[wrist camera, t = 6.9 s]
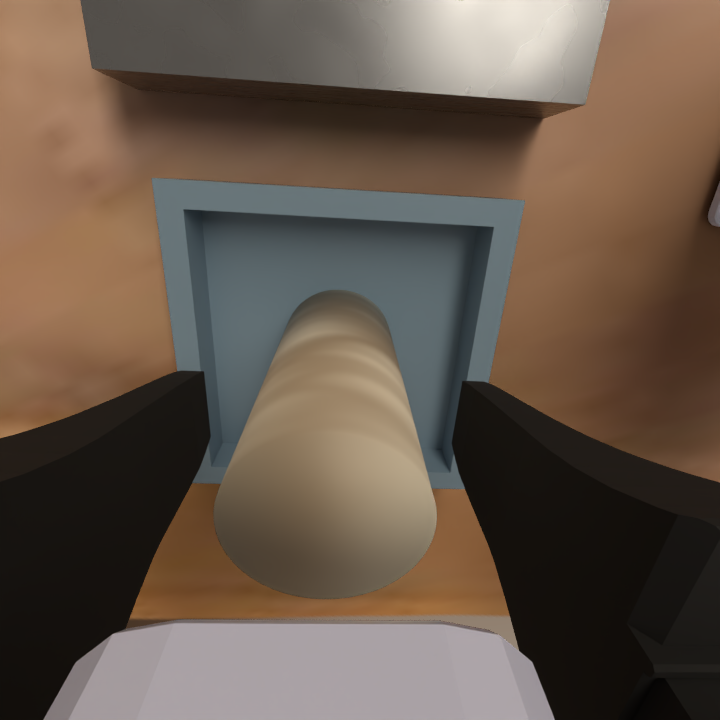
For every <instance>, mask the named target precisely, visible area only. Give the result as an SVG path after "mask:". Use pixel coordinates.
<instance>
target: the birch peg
mask: <svg viewBox="0 0 720 720" xmlns="http://www.w3.org/2000/svg"><path fill="white" fill-rule="evenodd" d="M213 512H214V525H215V530H216V534H217V537H218V539H219V542H220V544H221V546H222V547H223V549H224V551H225V553H226V554H227V555H228V557H229V558H230V559H231V560H232V562H233V563H234V564H235V565H236V566H237V567H239V568H240V569H241V570H242V571H243V572H244V573H246V574H247V575H248V576H250V577H251V578H253V579H254V580H256V581H258V582H259V583H261V584H263V585H265V586H267V587H270V588H272V589H274V590H277V591H280V592H283V593H286V594H290V595H294V596H298V597H305V598H313V599H339V598H348V597H353V596H358V595H363V594H366V593H369V592H373V591H376V590H378V589H380V588H383V587H385V586H387V585H389V584H391V583H393V582H394V581H396V580H398V579H399V578H401V577H402V576H404V575H405V574H406V573H408V572H409V571H410V570H411V569H412V568H413V567H414V566H415V565H416V564H417V563H418V562H419V561H420V560H421V558H422V557H423V556H424V554H425V553H426V551H427V550H428V548H429V546H430V544H431V542H432V539H433V537H434V533H435V529H436V522H437V511H436V504H435V500H434V496H433V492H432V488H431V485H430V481H429V477H428V473H427V470H426V466H425V462H424V458H423V454H422V451H421V447H420V443H419V439H418V435H417V432H416V428H415V424H414V420H413V416H412V413H411V409H410V405H409V401H408V398H407V394H406V390H405V386H404V382H403V379H402V375H401V371H400V367H399V363H398V360H397V356H396V352H395V348H394V345H393V341H392V337H391V333H390V329H389V326H388V323H387V320H386V318H385V316H384V315H383V313H382V312H381V310H380V309H379V308H378V307H377V306H376V305H375V304H374V303H373V302H372V301H371V300H369V299H368V298H366V297H364V296H362V295H360V294H358V293H355V292H352V291H348V290H328V291H323V292H320V293H317V294H315V295H312V296H311V297H309V298H307V299H306V300H305V301H303V302H302V303H301V304H300V305H299V306H298V307H297V308H296V310H295V311H294V312H293V314H292V316H291V318H290V319H289V322H288V324H287V327H286V329H285V331H284V334H283V336H282V339H281V341H280V343H279V346H278V348H277V351H276V353H275V355H274V358H273V360H272V363H271V365H270V367H269V370H268V372H267V375H266V377H265V379H264V382H263V384H262V387H261V389H260V391H259V394H258V396H257V399H256V401H255V403H254V406H253V408H252V411H251V413H250V415H249V418H248V420H247V423H246V425H245V427H244V430H243V432H242V435H241V437H240V439H239V442H238V444H237V447H236V449H235V451H234V454H233V456H232V459H231V461H230V463H229V466H228V468H227V471H226V473H225V475H224V478H223V480H222V483H221V485H220V487H219V490H218V493H217V496H216V499H215V504H214V511H213Z"/></svg>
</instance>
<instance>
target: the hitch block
mask: <svg viewBox="0 0 720 720" xmlns="http://www.w3.org/2000/svg"><path fill="white" fill-rule="evenodd" d="M609 2H610V0H81V6H82V12H83V18H84V24H85V30H86V35H87V41H88V47H89V53H90V59H91V65H92V69H95V70H97V71H99V72H101V73H103V74H106V75H108V76H110V77H112V78H114V79H116V80H119V81H121V82H123V83H125V84H127V85H130V86H132V87H134V88H136V89H141V90H155V91H169V92H183V93H197V94H211V95H225V96H239V97H253V98H267V99H281V100H295V101H309V102H323V103H337V104H351V105H365V106H379V107H393V108H407V109H421V110H435V111H449V112H463V113H477V114H491V115H505V116H519V117H533V118H547V117H550V116H553V115H556V114H559V113H562V112H565V111H568V110H571V109H574V108H577V107H580V106H583V105H585V104H586V100H587V95H588V91H589V87H590V83H591V78H592V74H593V70H594V66H595V61H596V57H597V53H598V49H599V45H600V40H601V36H602V32H603V28H604V23H605V19H606V15H607V11H608V6H609Z"/></svg>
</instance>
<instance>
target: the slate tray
mask: <svg viewBox="0 0 720 720" xmlns="http://www.w3.org/2000/svg"><path fill="white" fill-rule="evenodd" d="M152 184H153V192H154V199H155V207H156V214H157V222H158V229H159V237H160V244H161V252H162V259H163V267H164V274H165V282H166V289H167V297H168V304H169V312H170V319H171V327H172V334H173V342H174V349H175V357H176V364H177V371H181V370H182V371H204V375H205V385H206V394H207V404H208V413H209V423H210V432H211V438H210V441H209V444H208V447H207V450H206V453H205V455H204V458H203V461H202V464H201V466H200V469H199V470H198V472H197V474H196V476H195V478H194V480H193V482H192V483H211V484H221V483H222V480H223V478H224V475H225V473H226V471H227V468H228V466H229V463H230V461H231V459H232V456H233V454H234V451H235V449H236V447H237V444H238V442H239V439H240V437H241V435H242V432H243V430H244V427H245V425H246V423H247V420H248V418H249V415H250V413H251V411H252V408H253V406H254V403H255V401H256V399H257V396H258V394H259V391H260V389H261V387H262V384H263V382H264V379H265V377H266V375H267V372H268V370H269V367H270V365H271V363H272V360H273V358H274V355H275V353H276V351H277V348H278V346H279V343H280V341H281V339H282V336H283V334H284V331H285V329H286V327H287V324H288V322H289V319H290V318H291V316H292V314H293V312H294V311H295V310H296V308H297V307H298V306H299V305H300V304H301V303H302V302H303V301H305V300H306V299H307V298H309V297H311V296H312V295H315V294H317V293H320V292H323V291H328V290H348V291H352V292H355V293H358V294H360V295H362V296H364V297H366V298H368V299H369V300H371V301H372V302H373V303H374V304H375V305H376V306H377V307H378V308H379V309H380V310H381V312H382V313H383V315H384V316H385V318H386V320H387V323H388V326H389V329H390V333H391V337H392V341H393V345H394V348H395V352H396V356H397V360H398V363H399V367H400V371H401V375H402V379H403V382H404V386H405V390H406V394H407V398H408V401H409V405H410V409H411V413H412V416H413V420H414V424H415V428H416V432H417V435H418V439H419V443H420V447H421V451H422V454H423V458H424V462H425V466H426V470H427V473H428V477H429V481H430V485H431V488H436V489H465V487H464V485H463V483H462V480H461V477H460V475H459V472H458V468H457V464H456V460H455V456H454V452H453V448H452V437H453V432H454V426H455V420H456V414H457V409H458V403H459V397H460V391H461V385H462V381H484V382H487V383H488V382H489V377H490V372H491V367H492V362H493V357H494V352H495V347H496V342H497V337H498V332H499V327H500V322H501V318H502V313H503V308H504V303H505V298H506V293H507V288H508V283H509V278H510V273H511V268H512V263H513V258H514V253H515V248H516V243H517V238H518V233H519V228H520V223H521V218H522V213H523V208H524V204H525V201H524V200H513V199H502V198H487V197H471V196H454V195H438V194H421V193H405V192H388V191H372V190H355V189H339V188H322V187H306V186H289V185H273V184H256V183H239V182H223V181H206V180H190V179H167V178H152Z"/></svg>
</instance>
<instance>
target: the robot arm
mask: <svg viewBox="0 0 720 720" xmlns="http://www.w3.org/2000/svg"><path fill="white" fill-rule="evenodd" d="M708 220H709V222H710V223H711V225H713V226H717V227H720V183H719V185H718V188H717V191H716V193H715V196H714V199H713V201H712V204H711V207H710V209H709V213H708ZM210 438H211V432H210V423H209V413H208V404H207V394H206V385H205V375H204V371H182V370H181V371H177V372H174V373H171V374H168V375H166V376H163V377H161V378H159V379H156V380H154V381H152V382H150V383H148V384H145V385H143V386H141V387H139V388H136V389H134V390H132V391H130V392H128V393H125V394H123V395H121V396H119V397H116V398H114V399H112V400H109V401H107V402H104V403H102V404H100V405H97V406H95V407H92V408H90V409H87V410H85V411H83V412H80V413H78V414H75V415H72V416H70V417H67V418H64V419H62V420H59V421H56V422H53V423H50V424H47V425H44V426H41V427H38V428H35V429H32V430H29V431H25V432H22V433H19V434H15V435H12V436H8V437H4V438H0V720H720V483H719V482H716V481H712V480H709V479H705V478H701V477H698V476H694V475H691V474H688V473H685V472H681V471H678V470H675V469H672V468H669V467H666V466H663V465H660V464H657V463H654V462H651V461H648V460H645V459H643V458H640V457H637V456H634V455H632V454H629V453H626V452H624V451H621V450H619V449H616V448H614V447H612V446H609V445H607V444H605V443H602V442H600V441H598V440H595V439H593V438H591V437H588V436H586V435H584V434H582V433H580V432H578V431H576V430H574V429H572V428H570V427H568V426H566V425H564V424H562V423H560V422H558V421H556V420H554V419H552V418H551V417H549V416H547V415H545V414H543V413H541V412H540V411H538V410H536V409H534V408H533V407H531V406H529V405H527V404H526V403H524V402H522V401H520V400H519V399H517V398H515V397H514V396H512V395H510V394H508V393H507V392H505V391H503V390H501V389H499V388H498V387H496V386H494V385H492V384H489V383H487V382H484V381H462V385H461V391H460V397H459V403H458V409H457V414H456V420H455V426H454V432H453V437H452V448H453V452H454V456H455V460H456V464H457V468H458V472H459V475H460V477H461V480H462V483H463V485H464V487H465V490H466V492H467V495H468V497H469V500H470V502H471V505H472V507H473V509H474V512H475V514H476V516H477V519H478V521H479V524H480V526H481V528H482V531H483V533H484V536H485V538H486V540H487V543H488V545H489V548H490V551H491V554H492V556H493V559H494V562H495V565H496V569H497V572H498V576H499V579H500V582H501V586H502V589H503V593H504V596H505V599H506V603H507V607H508V610H509V614H510V618H511V622H512V625H513V629H514V633H515V636H516V640H517V644H518V647H519V651H518V650H517V649H516V648H515V647H514V646H512V645H511V644H510V643H509V642H507V641H506V640H505V639H504V638H503V637H501V636H500V635H498V634H496V633H494V632H492V631H490V630H486V629H481V628H476V627H470V626H465V625H460V624H455V623H450V622H444V621H419V620H418V621H417V620H414V621H413V620H411V621H410V620H407V621H406V620H222V619H179V620H173V621H168V622H162V623H157V624H151V625H145V626H139V627H133V628H128V629H125V628H126V626H127V623H128V620H129V618H130V615H131V612H132V610H133V607H134V604H135V602H136V599H137V597H138V594H139V592H140V589H141V587H142V584H143V582H144V579H145V577H146V574H147V572H148V569H149V567H150V564H151V562H152V559H153V557H154V555H155V553H156V551H157V549H158V547H159V544H160V542H161V540H162V538H163V536H164V535H165V533H166V531H167V529H168V527H169V525H170V523H171V522H172V520H173V518H174V516H175V514H176V512H177V510H178V508H179V507H180V505H181V503H182V501H183V499H184V497H185V495H186V494H187V492H188V490H189V488H190V486H191V484H192V482H193V480H194V478H195V476H196V474H197V472H198V470H199V469H200V466H201V464H202V461H203V458H204V455H205V453H206V450H207V447H208V444H209V441H210Z"/></svg>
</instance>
